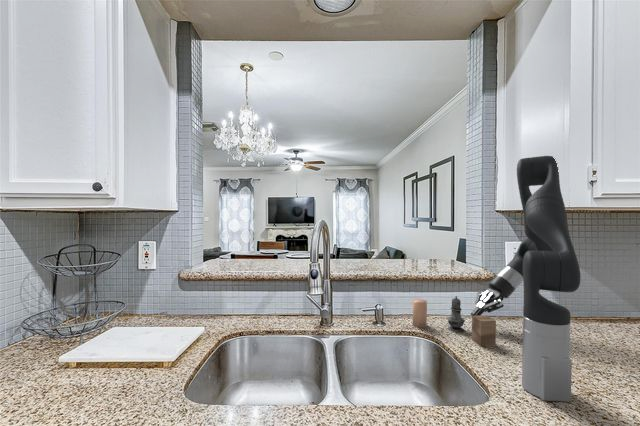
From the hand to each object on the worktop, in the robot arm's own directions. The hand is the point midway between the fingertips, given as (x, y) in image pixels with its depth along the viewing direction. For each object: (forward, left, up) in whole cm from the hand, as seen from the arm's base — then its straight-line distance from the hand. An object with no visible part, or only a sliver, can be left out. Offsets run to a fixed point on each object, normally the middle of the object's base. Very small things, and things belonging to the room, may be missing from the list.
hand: (473, 316), depth 117 cm
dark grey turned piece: (-1, +6, -5) cm, 8 cm away
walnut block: (-12, +1, -4) cm, 13 cm away
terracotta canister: (+2, +18, -4) cm, 19 cm away
